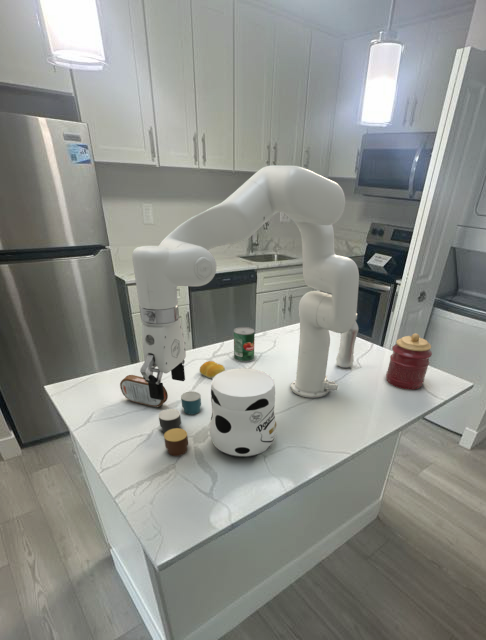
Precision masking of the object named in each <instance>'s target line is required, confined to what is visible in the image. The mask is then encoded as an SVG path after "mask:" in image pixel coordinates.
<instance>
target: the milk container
mask: <svg viewBox="0 0 486 640" xmlns="http://www.w3.org/2000/svg"><path fill="white" fill-rule="evenodd" d="M211 379H212V380H211V386H210V401H211V417H210V420H209V436H210V439H211V442H212V444H213V445H214V447H215V448H216V449H217V450H219V451H220V452H221V453H223V454H226V455H229V456H232V457H240V458H247V457H255V456H258V455H260V454H263V453H265V452H266V451H268V450H269V449H271V447H272V446H273V444H274V442H275V440H276V437H277V433H278V424H277V419H276V415H275V406H276V384H275V379H274V378H273V377H272V376H271V374H269V373H267V372H266V371H262V370H259V369H255V368H244V367H241V368H232V369H231V368H230V369H225V371H223V372H221V373H219V374H217V375H216V376H215V377H214V378H211Z"/></svg>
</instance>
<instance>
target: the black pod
mask: <svg viewBox="0 0 486 640" xmlns="http://www.w3.org/2000/svg"><path fill="white" fill-rule="evenodd" d="M158 421H159V422H158V423H159V426H160V428H161V431H162V433H164V434H165V432H167V431H168V430H170V429H175V428H180V429H181V425H182V418H181V412H180V410H178V409H175V408H167V409H164V410H161V411H160V412H159V413H158Z"/></svg>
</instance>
